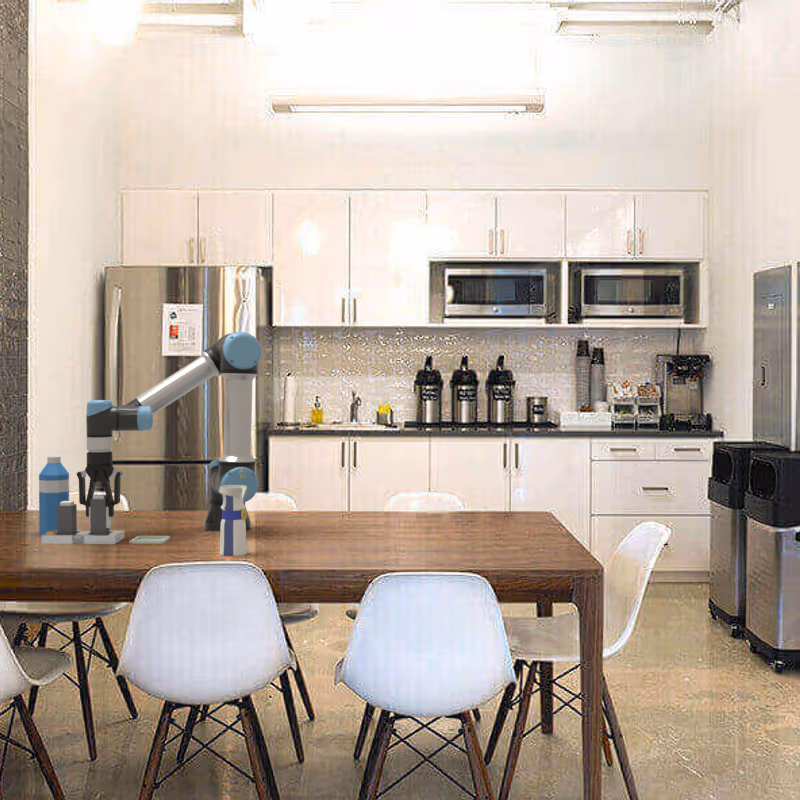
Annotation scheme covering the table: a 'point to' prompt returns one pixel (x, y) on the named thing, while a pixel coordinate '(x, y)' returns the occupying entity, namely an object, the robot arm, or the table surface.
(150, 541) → the tray
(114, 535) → the pdu strip
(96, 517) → the plug
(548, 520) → the table surface
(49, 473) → the water bottle
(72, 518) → the twin plug
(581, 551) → the table surface
